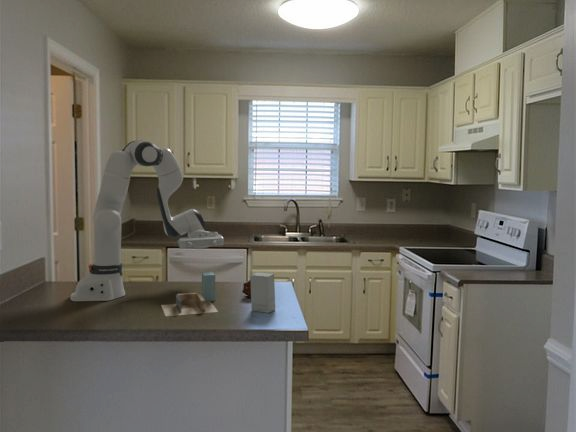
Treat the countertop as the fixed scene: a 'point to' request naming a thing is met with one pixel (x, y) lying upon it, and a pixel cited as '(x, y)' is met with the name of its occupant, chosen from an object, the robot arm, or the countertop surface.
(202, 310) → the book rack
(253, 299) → the skincare box
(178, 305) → the metal bookend
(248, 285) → the dragon fruit
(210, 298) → the book
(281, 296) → the countertop surface
